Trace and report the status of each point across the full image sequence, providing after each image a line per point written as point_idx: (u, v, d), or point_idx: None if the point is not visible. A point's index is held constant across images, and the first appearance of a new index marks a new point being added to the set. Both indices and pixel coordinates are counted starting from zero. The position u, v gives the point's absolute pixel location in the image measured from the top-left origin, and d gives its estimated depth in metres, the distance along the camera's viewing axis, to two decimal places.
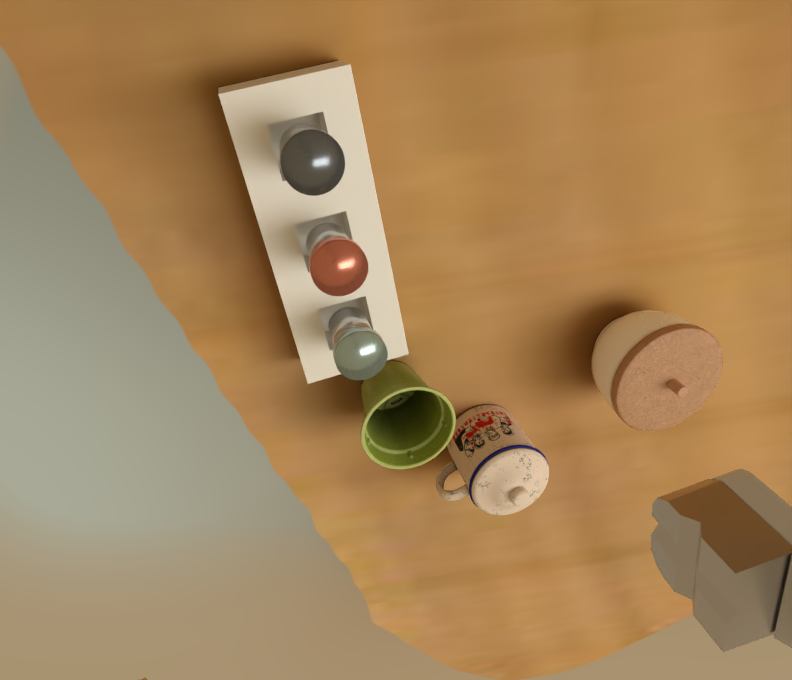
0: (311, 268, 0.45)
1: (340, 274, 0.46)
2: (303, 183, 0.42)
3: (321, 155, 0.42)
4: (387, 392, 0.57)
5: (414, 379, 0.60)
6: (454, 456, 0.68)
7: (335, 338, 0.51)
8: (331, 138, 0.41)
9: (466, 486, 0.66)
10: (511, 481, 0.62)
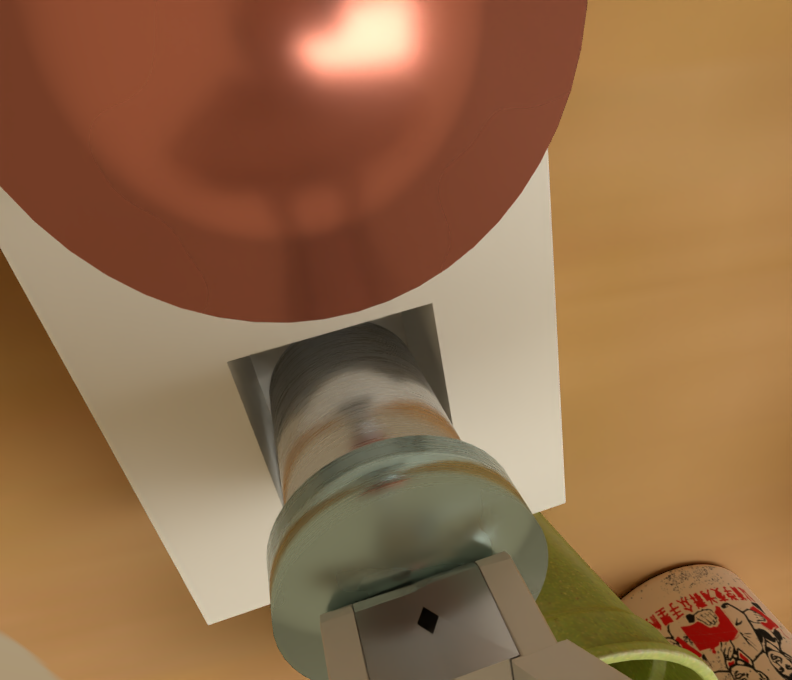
0: None
1: (297, 92, 0.04)
2: None
3: None
4: None
5: (573, 575, 0.18)
6: None
7: (286, 473, 0.11)
8: None
9: None
10: None
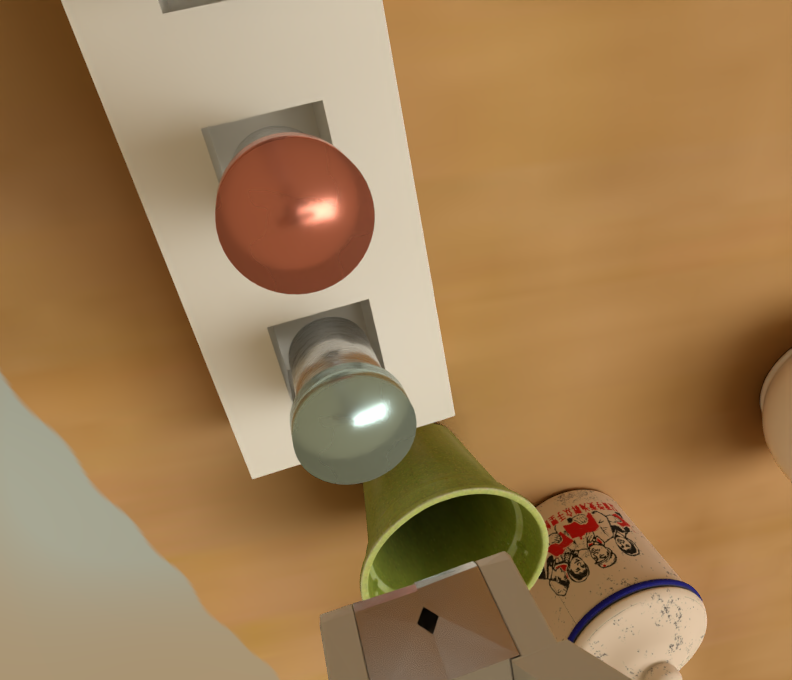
0: (217, 216, 0.16)
1: (299, 235, 0.17)
2: None
3: None
4: (414, 497, 0.28)
5: (465, 463, 0.31)
6: None
7: (298, 387, 0.23)
8: None
9: None
10: (647, 652, 0.33)
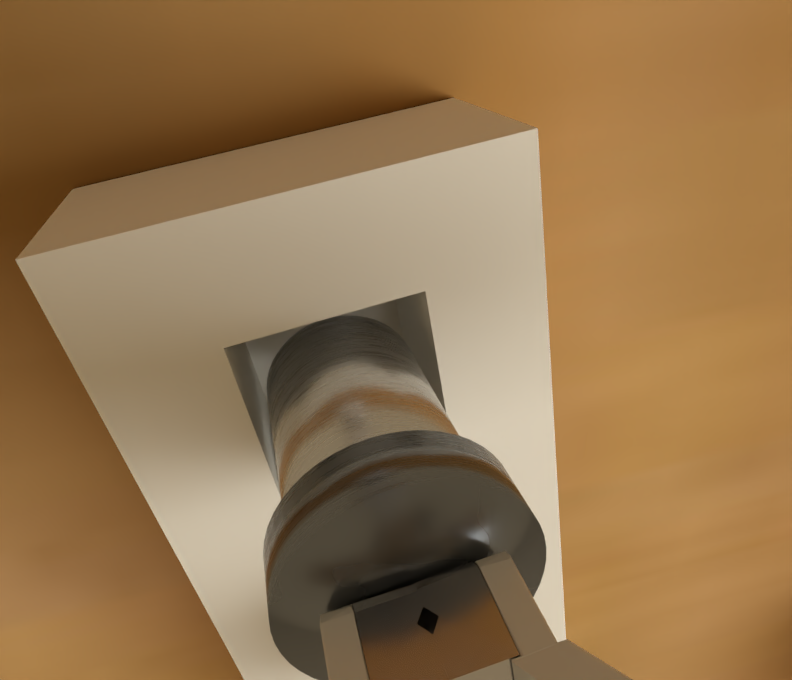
0: None
1: None
2: None
3: (449, 560, 0.09)
4: None
5: None
6: None
7: None
8: (504, 498, 0.09)
9: None
10: None
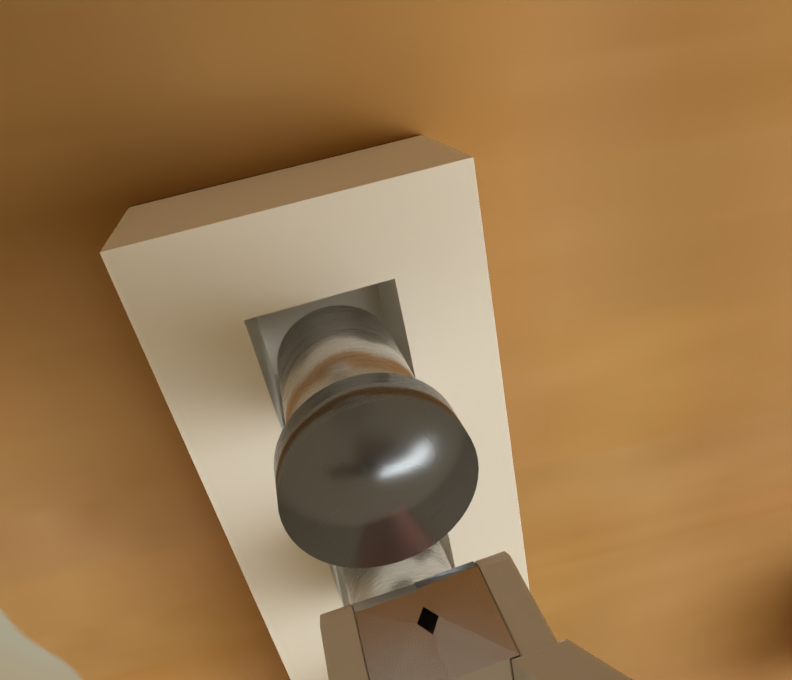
0: None
1: None
2: (348, 542, 0.13)
3: (406, 464, 0.13)
4: None
5: None
6: None
7: None
8: (442, 416, 0.13)
9: None
10: None
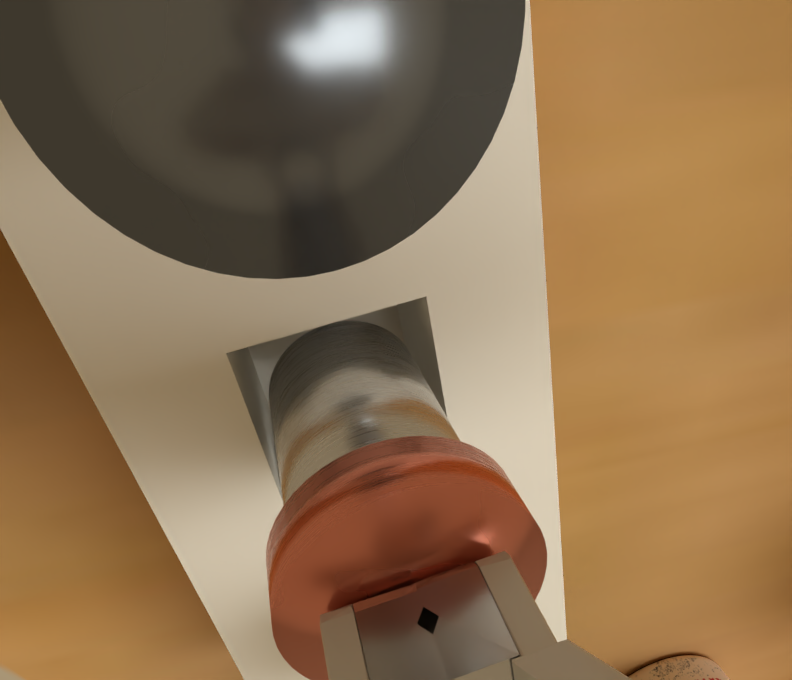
0: (275, 614, 0.09)
1: None
2: (199, 191, 0.05)
3: None
4: None
5: None
6: None
7: None
8: None
9: None
10: None
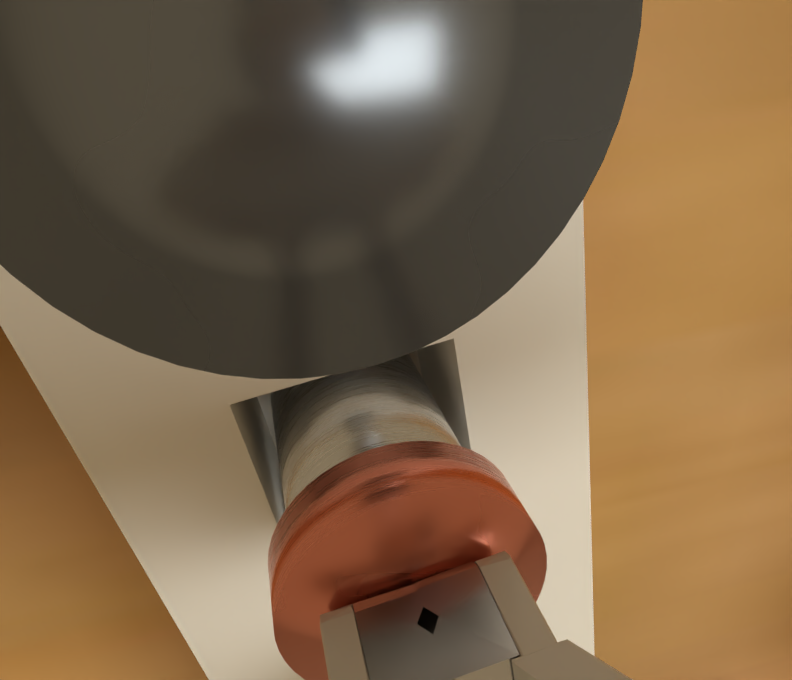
0: (277, 618, 0.09)
1: None
2: (197, 273, 0.04)
3: None
4: None
5: None
6: None
7: None
8: None
9: None
10: None
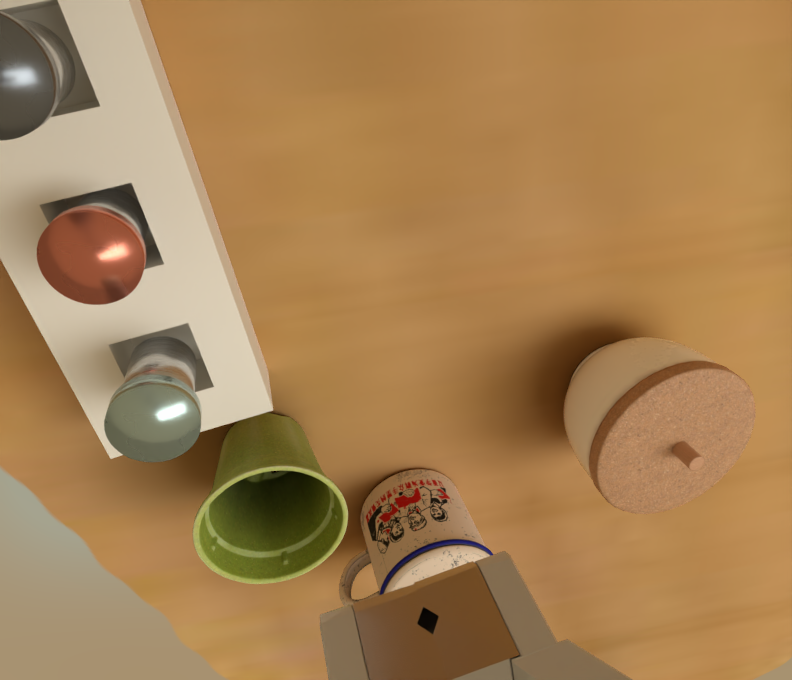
0: (38, 258, 0.27)
1: (94, 268, 0.28)
2: None
3: None
4: (234, 472, 0.36)
5: (286, 447, 0.39)
6: (367, 545, 0.48)
7: None
8: (11, 24, 0.21)
9: (379, 594, 0.45)
10: None
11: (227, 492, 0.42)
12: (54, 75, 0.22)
